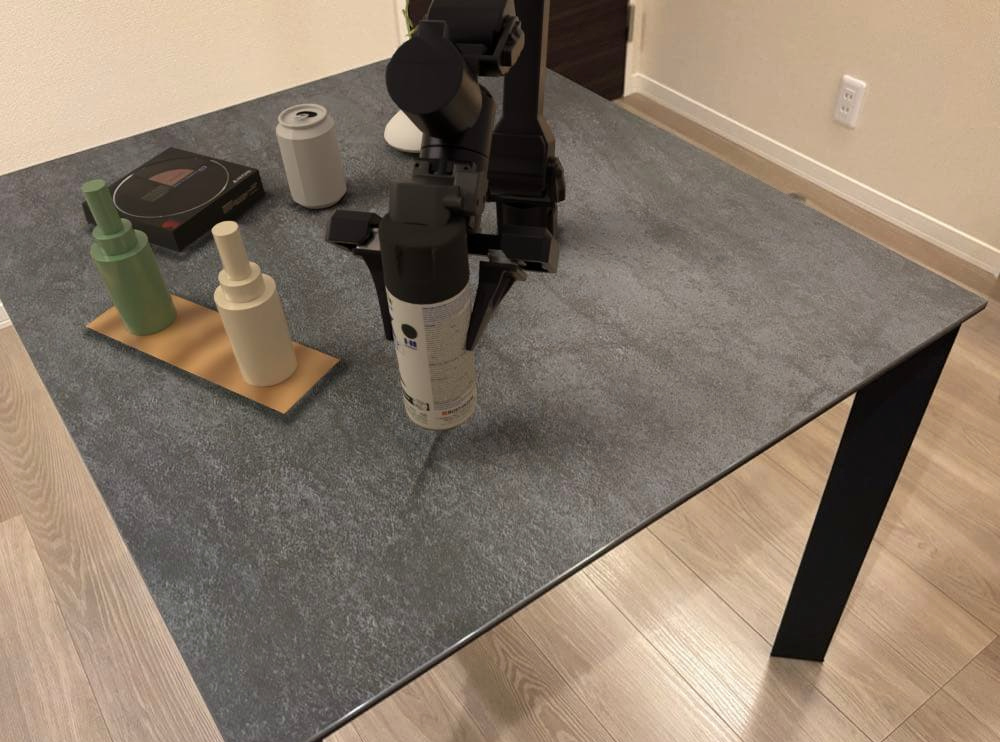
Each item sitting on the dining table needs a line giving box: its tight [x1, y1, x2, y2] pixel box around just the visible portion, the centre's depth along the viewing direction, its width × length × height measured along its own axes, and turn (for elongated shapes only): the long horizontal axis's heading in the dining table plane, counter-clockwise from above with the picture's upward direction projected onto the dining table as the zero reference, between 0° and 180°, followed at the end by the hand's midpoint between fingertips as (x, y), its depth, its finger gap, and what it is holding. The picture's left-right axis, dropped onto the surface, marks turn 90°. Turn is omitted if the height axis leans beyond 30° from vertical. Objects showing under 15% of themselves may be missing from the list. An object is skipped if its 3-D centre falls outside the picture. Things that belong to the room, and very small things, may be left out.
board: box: [85, 293, 341, 415], centre depth 91 cm, size 30×9×1 cm, turn 58°
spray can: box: [378, 211, 478, 432], centre depth 68 cm, size 7×7×20 cm
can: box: [275, 103, 347, 210], centre depth 108 cm, size 8×8×12 cm
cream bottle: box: [211, 220, 298, 387], centre depth 81 cm, size 6×6×17 cm
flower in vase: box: [383, 0, 423, 154], centre depth 113 cm, size 13×11×25 cm
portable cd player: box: [81, 146, 266, 253], centre depth 111 cm, size 16×17×4 cm
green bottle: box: [80, 178, 177, 336], centre depth 88 cm, size 6×6×17 cm
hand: (429, 345), depth 68 cm, fingers closed on spray can, 6 cm apart
